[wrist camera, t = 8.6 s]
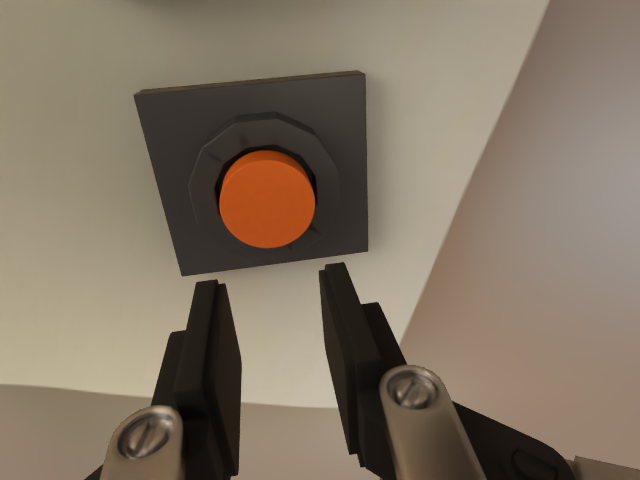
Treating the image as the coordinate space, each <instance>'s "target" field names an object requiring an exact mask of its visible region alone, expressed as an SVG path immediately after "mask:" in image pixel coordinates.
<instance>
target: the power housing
mask: <svg viewBox="0 0 640 480" xmlns="http://www.w3.org/2000/svg"><path fill="white" fill-rule="evenodd" d="M134 99H135V103H136V107H137V111H138V114H139V118H140V122H141V126H142V129H143V133H144V137H145V141H146V144H147V148H148V152H149V155H150V159H151V163H152V167H153V170H154V174H155V178H156V182H157V185H158V189H159V193H160V197H161V200H162V204H163V208H164V212H165V215H166V219H167V223H168V227H169V230H170V234H171V238H172V242H173V245H174V249H175V253H176V257H177V260H178V264H179V268H180V272H181V275H182V276H189V275H197V274H204V273H212V272H219V271H226V270H234V269H241V268H249V267H256V266H264V265H271V264H279V263H286V262H294V261H301V260H308V259H316V258H323V257H331V256H338V255H346V254H353V253H361V252H368V199H367V140H366V80H365V74H364V73H362V72H360V71H357V70H356V71H345V72H334V73H323V74H312V75H301V76H290V77H279V78H268V79H257V80H246V81H235V82H224V83H213V84H202V85H191V86H180V87H169V88H158V89H147V90H141V91H140V92H138V93H136V94H135V95H134ZM260 150H273V151H278V152H281V153H284V154H286V155H288V156H290V157H292V158H293V159H294V160H296V161H297V162H298V163H299V164H300V165H301V166H302V168H303V169H304V171H305V172H306V174H307V176H308V178H309V181H310V184H311V187H312V189H313V193H314V197H315V211H314V215H313V218H312V221H311V223H310V225H309V226H308V228H307V229H306V230H305V232H304V233H303V234H302V235H301V236H300V237H298V238H297V239H296V240H294V241H292V242H291V243H288V244H286V245H283V246H280V247H275V248H259V247H254V246H251V245H248V244H246V243H244V242H242V241H240V240H239V239H238V238H236V237H235V236H234V235H233V234H232V233H231V232H230V231H229V230H228V228H227V227H226V225H225V224H224V222H223V219H222V217H221V213H220V195H221V190H222V184H223V180H224V177H225V175H226V173H227V171H228V170H229V168H230V167H231V166H232V165H233V163H234V162H236V161H237V160H238V159H239V158H241V157H242V156H244V155H246V154H248V153H251V152H254V151H260Z"/></svg>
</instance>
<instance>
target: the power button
mask: <svg viewBox="0 0 640 480" xmlns="http://www.w3.org/2000/svg"><path fill="white" fill-rule="evenodd" d="M314 211H315V197H314V193H313V189H312V187H311V184H310V181H309V178H308V176H307V174H306V172H305V171H304V169H303V168H302V166H301V165H300V164H299V163H298V162H297V161H296V160H294V159H293V158H292V157H290V156H288V155H286V154H284V153H281V152H278V151H273V150H260V151H254V152H251V153H248V154H246V155H244V156H242V157H241V158H239V159H238V160H237V161H236V162H234V163H233V165H232V166H231V167H230V168H229V170H228V171H227V173H226V175H225V177H224V180H223V184H222V190H221V195H220V213H221V217H222V219H223V222H224V224H225V225H226V227H227V228H228V230H229V231H230V232H231V233H232V234H233V235H234V236H235V237H236V238H238V239H239V240H240V241H242V242H244V243H246V244H248V245H251V246H254V247H259V248H275V247H280V246H283V245H286V244H288V243H291V242H292V241H294V240H296V239H297V238H298V237H300V236H301V235H302V234H303V233H304V232H305V230H306V229H307V228H308V226H309V225H310V223H311V221H312V218H313V215H314Z"/></svg>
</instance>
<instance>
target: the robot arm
mask: <svg viewBox="0 0 640 480" xmlns="http://www.w3.org/2000/svg"><path fill="white" fill-rule="evenodd" d="M319 283H320V295H321V307H322V319H323V331H324V342H325V350H326V355H327V359H328V364H329V368H330V372H331V377H332V381H333V386H334V390H335V394H336V399H337V403H338V408H339V412H340V416H341V421H342V425H343V430H344V434H345V438H346V443H347V447H348V451H349V454H350V455H352V454H357V455H358V459H359V463H360V467H366V469H368V470H370V471H371V472H373V473H374V474H376V475H377V476H379V477H380V480H640V470H639V469H633V468H629V467H624V466H620V465H615V464H611V463H606V462H601V461H597V460H592V459H587V458H583V457H578V456H575V459H574V461H571V460H566V459H564V458H563V457H562V456H561V455H560V454H559V453H558V452H557V451H555V450H554V449H553V448H551V447H550V446H548V445H546V444H544V443H543V442H541V441H539V440H537V439H534V438H532V437H530V436H528V435H525V434H523V433H521V432H519V431H517V430H515V429H513V428H510V427H508V426H506V425H504V424H502V423H499V422H497V421H495V420H493V419H491V418H488V417H486V416H484V415H482V414H480V413H477V412H475V411H473V410H471V409H469V408H466V407H464V406H462V405H460V404H458V403H455V402H453V401H452V400H451V398H450V396H449V394H448V392H447V389H446V387H445V385H444V383H443V382H442V381H441V379H440V377H438V376H437V375H436V374H435V373H434V372H432V371H430V370H428V369H426V368H424V367H421V366H416V365H407V363H406V361H405V359H404V357H403V354H402V352H401V350H400V348H399V346H398V343H397V341H396V339H395V337H394V335H393V333H392V330H391V328H390V326H389V324H388V322H387V319H386V317H385V315H384V313H383V311H382V309H381V306H380V305H379V303H378V302H374V303H368V304H360V301H359V299H358V296H357V293H356V291H355V288H354V286H353V283H352V281H351V278H350V276H349V273H348V270H347V268H346V265H345V263H344V262H341V263H333V264H326V265H325V270H319ZM241 373H242V363H241V355H240V350H239V345H238V340H237V336H236V331H235V326H234V321H233V317H232V312H231V307H230V302H229V298H228V293H227V288H226V285H225V283H224V284H219V283H218V280H217V279H216V280H208V281H201V282H197V283H196V286H195V291H194V295H193V300H192V305H191V309H190V314H189V318H188V323H187V328H186V330H183V331H177V332H172V333H171V334H170V336H169V339H168V343H167V347H166V350H165V354H164V358H163V362H162V365H161V369H160V373H159V377H158V380H157V384H156V388H155V392H154V395H153V399H152V403H151V406H150V407H146V408H143V409H140V410H138V411H137V412H135V413H133V414H131V415H130V416H129V417H127V418H126V419H125V420H124V421H123V422H121V423H120V425H119V426H118V427H117V428H116V430H115V431H114V433H113V435H112V437H111V439H110V442H109V445H108V449H107V453H106V457H105V460H104V464H103V465H101V466H100V467H99V468H98V469H97V470H96V471H94V472H93V473H92V474H91V475H89V476H88V477H87V478H86V479H84V480H230V478H231V476H236V475H238V471H239V440H240V406H241Z"/></svg>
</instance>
